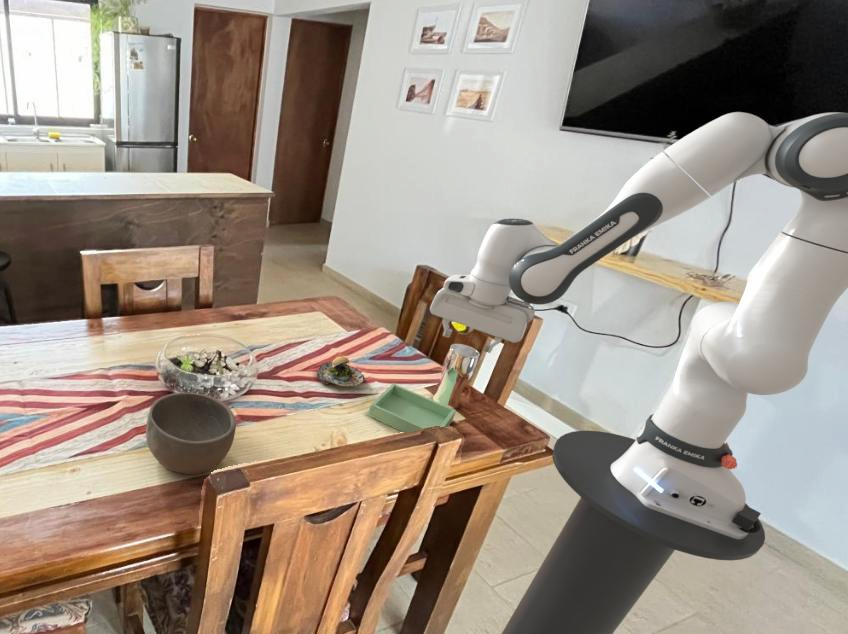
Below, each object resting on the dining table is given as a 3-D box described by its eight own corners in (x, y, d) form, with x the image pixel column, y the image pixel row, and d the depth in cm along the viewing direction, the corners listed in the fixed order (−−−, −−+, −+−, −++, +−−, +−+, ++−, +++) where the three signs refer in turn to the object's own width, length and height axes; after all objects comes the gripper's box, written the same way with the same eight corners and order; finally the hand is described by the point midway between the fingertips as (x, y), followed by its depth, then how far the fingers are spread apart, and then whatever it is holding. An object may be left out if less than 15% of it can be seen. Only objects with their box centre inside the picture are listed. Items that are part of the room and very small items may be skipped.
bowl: (213, 423, 113) (218, 385, 108) (244, 479, 98) (251, 438, 93) (135, 433, 107) (137, 393, 102) (155, 495, 92) (158, 451, 88)
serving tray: (452, 420, 122) (456, 410, 121) (433, 446, 113) (438, 435, 111) (389, 393, 131) (393, 383, 129) (367, 415, 121) (370, 404, 120)
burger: (322, 390, 129) (328, 364, 125) (312, 365, 139) (318, 341, 136) (368, 393, 130) (376, 368, 126) (355, 369, 140) (362, 345, 137)
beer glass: (428, 392, 133) (446, 341, 126) (456, 397, 132) (476, 346, 125) (433, 406, 127) (452, 354, 120) (463, 412, 126) (484, 359, 119)
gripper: (540, 301, 112) (516, 356, 119) (446, 273, 123) (428, 324, 129) (535, 309, 108) (510, 365, 114) (438, 279, 119) (420, 331, 125)
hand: (466, 343), depth 122 cm, fingers open, 8 cm apart
